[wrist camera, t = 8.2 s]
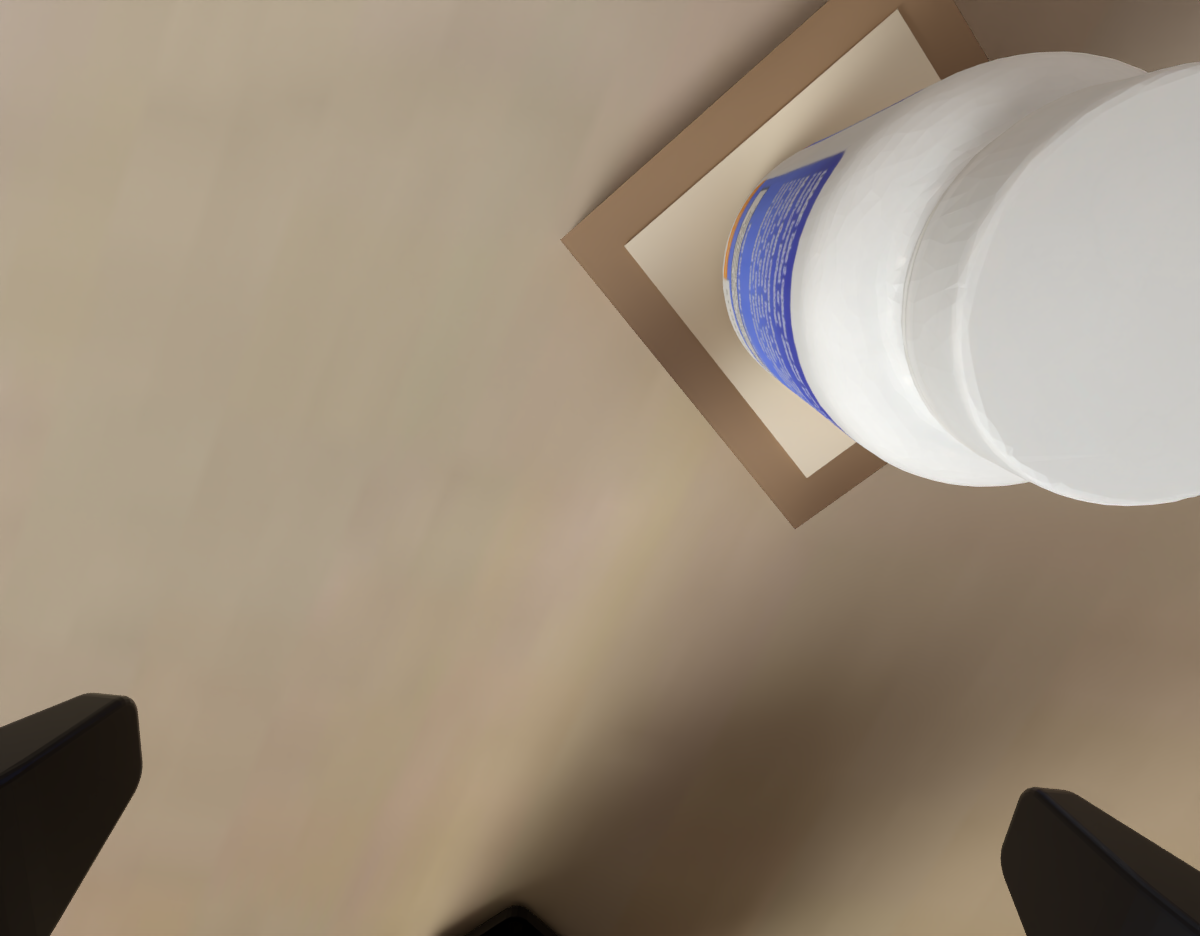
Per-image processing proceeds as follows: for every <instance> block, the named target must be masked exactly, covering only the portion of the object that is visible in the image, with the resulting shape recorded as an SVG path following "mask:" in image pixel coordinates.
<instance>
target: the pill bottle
mask: <svg viewBox="0 0 1200 936" xmlns="http://www.w3.org/2000/svg"><path fill="white" fill-rule="evenodd" d="M723 291H724V297H725V302H726V307H727V311H728V315H729V318H730V320H731V323H732V326H733V328H734V330H735V332H736V334H737V336H738V338H739V340H740V341H741V343H742V344H743V346H744V347H745V348H746V350H747V351H748V352H749V354H750V355H751V356H752V357H753V358H754V359H755V361H756V362H757V363H758V364H759V365H760V366H762V367H763V368H764V369H765V370H766V371H767V372H768V373H770V374H771V375H772V376H773V377H775V378H776V379H777V380H778V381H780V382H781V383H782V384H783V385H785V386H786V387H787V388H789V389H790V390H791V391H793V392H794V393H795V394H796V395H798V396H799V397H800V398H801V399H803V400H804V401H805V402H806V403H808V404H809V405H810V406H812V407H813V408H814V409H816V410H817V411H818V412H819V413H821V414H822V415H823V416H824V417H826V418H827V419H828V420H829V421H831V422H832V423H833V424H834V425H835V426H837V427H838V428H839V429H840V430H842V431H843V432H844V433H845V434H847V435H848V436H849V437H850V438H852V439H853V440H854V441H856V442H857V443H858V444H860V445H861V446H863V447H864V448H866V449H867V450H869V451H870V452H872V453H873V454H875V455H876V456H878V457H879V458H881V459H882V460H884V461H885V462H887V463H889V464H891V465H893V466H895V467H897V468H899V469H901V470H903V471H906V472H909V473H911V474H914V475H917V476H920V477H924V478H927V479H930V480H933V481H938V482H943V483H948V484H955V485H962V486H974V487H985V486H1008V485H1014V484H1021V483H1027V482H1031V483H1033V484H1035V485H1038V486H1040V487H1042V488H1044V489H1047V490H1049V491H1051V492H1054V493H1056V494H1059V495H1062V496H1065V497H1069V498H1072V499H1076V500H1081V501H1086V502H1091V503H1097V504H1103V505H1120V506H1136V505H1154V504H1162V503H1170V502H1176V501H1179V500H1182V499H1186V498H1190V497H1196V496H1199V495H1200V62H1193V63H1185V64H1181V65H1177V66H1173V67H1168V68H1164V69H1160V70H1156V71H1153V72H1149V73H1148V72H1146V71H1144V70H1142V69H1140V68H1137V67H1135V66H1132V65H1129V64H1127V63H1124V62H1122V61H1119V60H1116V59H1112V58H1108V57H1104V56H1098V55H1093V54H1088V53H1079V52H1066V51H1064V52H1036V53H1028V54H1021V55H1015V56H1010V57H1005V58H1000V59H996V60H993V61H989V62H986V63H983V64H979V65H976V66H974V67H971V68H968V69H965V70H963V71H960V72H957V73H955V74H953V75H951V76H949V77H947V78H945V79H943V80H941V81H939V82H936V83H934V84H932V85H930V86H928V87H926V88H924V89H922V90H920V91H918V92H916V93H914V94H912V95H911V96H909V97H907V98H905V99H903V100H901V101H899V102H897V103H895V104H893V105H891V106H889V107H887V108H885V109H883V110H881V111H879V112H877V113H875V114H873V115H872V116H870V117H868V118H866V119H864V120H862V121H860V122H858V123H856V124H854V125H852V126H850V127H848V128H846V129H844V130H841V131H839V132H837V133H835V134H833V135H831V136H829V137H827V138H824V139H822V140H820V141H818V142H815V143H813V144H811V145H809V146H807V147H805V148H804V149H802V150H800V151H799V152H797V153H795V154H794V155H792V156H791V157H789V158H787V159H786V160H784V161H783V162H781V163H780V164H779V165H778V166H777V167H775V168H774V169H773V170H772V171H770V172H769V173H768V174H767V175H766V176H765V177H764V178H763V179H762V180H761V181H760V182H759V183H758V185H757V186H756V187H755V188H754V189H753V191H752V192H751V193H750V195H749V196H748V198H747V199H746V200H745V202H744V203H743V205H742V207H741V209H740V210H739V212H738V214H737V216H736V218H735V221H734V223H733V225H732V228H731V231H730V234H729V237H728V240H727V244H726V248H725V255H724V262H723Z"/></svg>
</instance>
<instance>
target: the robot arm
mask: <svg viewBox="0 0 1200 936" xmlns="http://www.w3.org/2000/svg"><path fill="white" fill-rule="evenodd" d="M141 774H142V752H141V741H140V731H139V720H138V711H137V706H136V704H135V702H134V701H133V700H132V699H131V698H129V697H127V696H121V695H111V694H101V693H87V694H83V695H80V696H77V697H75V698H72V699H70V700H67V701H65V702H62V703H60V704H57V705H55V706H52V707H50V708H47V709H45V710H42V711H40V712H38V713H35V714H33V715H30V716H28V717H25V718H23V719H20V720H18V721H15V722H13V723H10V724H8V725H5V726H3V727H0V936H50V935H51V933H52V931H53V930H54V928H55V927H56V925H57V923H58V922H59V920H60V918H61V917H62V915H63V913H64V911H65V910H66V908H67V906H68V905H69V903H70V901H71V900H72V898H73V896H74V895H75V893H76V891H77V889H78V888H79V886H80V884H81V883H82V881H83V879H84V878H85V876H86V874H87V873H88V871H89V869H90V867H91V866H92V864H93V862H94V861H95V859H96V857H97V856H98V854H99V852H100V851H101V849H102V847H103V845H104V844H105V842H106V840H107V839H108V837H109V835H110V834H111V832H112V830H113V829H114V827H115V825H116V823H117V822H118V820H119V818H120V817H121V815H122V813H123V812H124V810H125V808H126V807H127V805H128V803H129V801H130V800H131V798H132V796H133V795H134V793H135V791H136V789H137V786H138V784H139V781H140V778H141ZM1001 867H1002V871H1003V875H1004V878H1005V881H1006V884H1007V886H1008V889H1009V891H1010V894H1011V897H1012V899H1013V902H1014V904H1015V907H1016V909H1017V912H1018V915H1019V917H1020V920H1021V922H1022V925H1023V928H1024V930H1025V933H1026V935H1027V936H1200V871H1198V870H1197V869H1195V868H1193V867H1192V866H1190V865H1189V864H1187V863H1185V862H1184V861H1182V860H1181V859H1179V858H1177V857H1176V856H1174V855H1173V854H1171V853H1169V852H1168V851H1166V850H1165V849H1163V848H1161V847H1160V846H1158V845H1157V844H1155V843H1153V842H1152V841H1150V840H1149V839H1147V838H1145V837H1144V836H1142V835H1141V834H1139V833H1137V832H1136V831H1134V830H1133V829H1131V828H1129V827H1128V826H1126V825H1125V824H1123V823H1121V822H1120V821H1118V820H1117V819H1115V818H1113V817H1112V816H1110V815H1109V814H1107V813H1105V812H1104V811H1102V810H1101V809H1099V808H1097V807H1096V806H1094V805H1092V804H1091V803H1089V802H1088V801H1086V800H1084V799H1083V798H1081V797H1080V796H1078V795H1076V794H1074V793H1072V792H1070V791H1066V790H1059V789H1049V788H1039V787H1032V788H1028V789H1026V790H1025V791H1024V792H1023V793H1022V794H1021V796H1020V798H1019V800H1018V803H1017V806H1016V809H1015V811H1014V814H1013V817H1012V820H1011V823H1010V826H1009V828H1008V831H1007V834H1006V837H1005V840H1004V843H1003V845H1002V849H1001ZM465 936H558V935H557V934H556V933H554V932H553V931H552V930H551V929H550V928H549V927H548V926H546V925H545V924H544V923H543V922H542V921H541V920H540V919H538V918H537V917H536V916H535V915H534V914H533V913H532V912H530V911H529V910H528V909H526V908H525V907H522V906H511V907H509V908H507V909H505V910H504V911H502V912H501V913H499V914H498V915H496V916H495V917H493V918H491V919H490V920H488V921H487V922H485V923H484V924H482V925H481V926H479V927H477V928H476V929H474V930H473V931H471V932H470V933H468V934H467V935H465Z"/></svg>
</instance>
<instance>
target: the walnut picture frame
mask: <svg viewBox="0 0 1200 936" xmlns="http://www.w3.org/2000/svg"><path fill="white" fill-rule="evenodd" d="M986 62H989V60H988V58H987V57H986V55H985V53H984V51H983V50H982V48H981V46H980V45H979V43H978V41H977V40H976V38H975V36H974V35H973V33H972V31H971V29H970V28H969V26H968V24H967V23H966V21H965V19H964V18H963V16H962V14H961V12H960V11H959V9H958V7H957V6H956V4H955V2H954V1H953V0H829V1H828V2H827V3H825V4H824V5H823V6H822V7H821V8H820V9H819V10H818V11H817V12H815V13H814V14H813V15H812V16H811V17H810V18H809V19H808V20H806V21H805V22H804V23H803V24H802V25H801V26H800V27H799V28H797V29H796V30H795V31H794V32H793V33H792V34H791V35H790V36H788V37H787V38H786V39H785V40H784V41H783V42H782V43H781V44H780V45H778V46H777V47H776V48H775V49H774V50H773V51H772V52H771V53H769V54H768V55H767V56H766V57H765V58H764V59H763V60H762V61H760V62H759V63H758V64H757V65H756V66H755V67H754V68H753V69H751V70H750V71H749V72H748V73H747V74H746V75H745V76H744V77H743V78H741V79H740V80H739V81H738V82H737V83H736V84H735V85H734V86H732V87H731V88H730V89H729V90H728V91H727V92H726V93H725V94H723V95H722V96H721V97H720V98H719V99H718V100H717V101H716V102H714V103H713V104H712V105H711V106H710V107H709V108H708V109H707V110H706V111H704V112H703V113H702V114H701V115H700V116H699V117H698V118H697V119H695V120H694V121H693V122H692V123H691V124H690V125H689V126H688V127H686V128H685V129H684V130H683V131H682V132H681V133H680V134H679V135H677V136H676V137H675V138H674V139H673V140H672V141H671V142H670V143H669V144H667V145H666V146H665V147H664V148H663V149H662V150H661V151H660V152H658V153H657V154H656V155H655V156H654V157H653V158H652V159H651V160H649V161H648V162H647V163H646V164H645V165H644V166H643V167H642V168H640V169H639V170H638V171H637V172H636V173H635V174H634V175H633V176H632V177H630V178H629V179H628V180H627V181H626V182H625V183H624V184H623V185H621V186H620V187H619V188H618V189H617V190H616V191H615V192H614V193H612V194H611V195H610V196H609V197H608V198H607V199H606V200H605V201H603V202H602V203H601V204H600V205H599V206H598V207H597V208H596V209H595V210H593V211H592V212H591V213H590V214H589V215H588V216H587V217H586V218H584V219H583V220H582V221H581V222H580V223H579V224H578V225H577V226H575V227H574V228H573V229H572V230H571V231H570V232H569V233H568V234H567V235H565V236H564V237H563V238H562V239H561V241H562V243H563V244H564V245H565V246H566V247H567V249H568V250H569V251H570V252H571V254H572V255H573V256H574V257H575V259H576V260H577V261H578V262H579V263H580V265H581V266H582V267H583V268H584V270H585V271H586V272H587V273H588V275H589V276H590V277H591V278H592V280H593V281H594V282H595V283H596V284H597V286H598V287H599V288H600V289H601V291H602V292H603V293H604V294H605V296H606V297H607V298H608V299H609V300H610V302H611V303H612V304H613V305H614V307H615V308H616V309H617V310H618V312H619V313H620V314H621V315H622V316H623V318H624V319H625V320H626V321H627V323H628V324H629V325H630V326H631V328H632V329H633V330H634V331H635V333H636V334H637V335H638V336H639V337H640V339H641V340H642V341H643V342H644V344H645V345H646V346H647V347H648V349H649V350H650V351H651V352H652V353H653V355H654V356H655V357H656V358H657V360H658V361H659V362H660V363H661V365H662V366H663V367H664V368H665V369H666V371H667V372H668V373H669V374H670V376H671V377H672V378H673V379H674V381H675V382H676V383H677V384H678V385H679V387H680V388H681V389H682V390H683V392H684V393H685V394H686V395H687V397H688V398H689V399H690V400H691V402H692V403H693V404H694V405H695V406H696V408H697V409H698V410H699V411H700V413H701V414H702V415H703V416H704V418H705V419H706V420H707V421H708V422H709V424H710V425H711V426H712V427H713V429H714V430H715V431H716V432H717V434H718V435H719V436H720V437H721V438H722V440H723V441H724V442H725V443H726V445H727V446H728V447H729V448H730V450H731V451H732V452H733V453H734V455H735V456H736V457H737V458H738V459H739V461H740V462H741V463H742V464H743V466H744V467H745V468H746V469H747V471H748V472H749V473H750V474H751V475H752V477H753V478H754V479H755V480H756V482H757V483H758V484H759V485H760V487H761V488H762V489H763V490H764V491H765V493H766V494H767V495H768V496H769V498H770V499H771V500H772V501H773V503H774V504H775V505H776V506H777V508H778V509H779V510H780V511H781V512H782V514H783V515H784V516H785V517H786V519H787V520H788V521H789V522H790V524H791V525H792V526H793V527H794V528H795V529H796V528H797V527H799V526H800V525H802V524H803V523H804V522H806V521H807V520H809V519H810V518H811V517H813V516H814V515H816V514H817V513H818V512H820V511H821V510H823V509H824V508H825V507H827V506H828V505H830V504H831V503H832V502H834V501H835V500H837V499H838V498H839V497H841V496H842V495H844V494H845V493H847V492H848V491H849V490H851V489H852V488H854V487H855V486H856V485H858V484H859V483H861V482H862V481H863V480H865V479H866V478H868V477H869V476H870V475H872V474H873V473H875V472H876V471H877V470H879V469H880V468H882V467H883V466H884V465H886V464H887V462H885V461H884V460H882V459H881V458H879V457H878V456H876V455H875V454H873V453H872V452H870V451H869V450H867V449H866V448H864V447H863V446H861V445H860V444H858V443H857V442H856V441H854V440H853V439H852V438H850V437H849V436H848V435H847V434H845V433H844V432H843V431H842V430H840V429H839V428H838V427H837V426H835V425H834V424H833V423H832V422H831V421H829V420H828V419H827V418H826V417H824V416H823V415H822V414H821V413H819V412H818V411H817V410H816V409H814V408H813V407H812V406H810V405H809V404H808V403H806V402H805V401H804V400H803V399H801V398H800V397H799V396H798V395H796V394H795V393H794V392H793V391H791V390H790V389H789V388H787V387H786V386H785V385H783V384H782V383H781V382H780V381H778V380H777V379H776V378H775V377H773V376H772V375H771V374H770V373H768V372H767V371H766V370H765V369H764V368H763V367H762V366H760V365H759V364H758V363H757V362H756V361H755V359H754V358H753V357H752V356H751V355H750V354H749V352H748V351H747V350H746V348H745V347H744V346H743V344H742V343H741V341H740V340H739V338H738V336H737V334H736V332H735V330H734V328H733V326H732V323H731V320H730V318H729V315H728V311H727V307H726V302H725V297H724V291H723V262H724V255H725V248H726V244H727V240H728V237H729V234H730V231H731V228H732V225H733V223H734V221H735V218H736V216H737V214H738V212H739V210H740V209H741V207H742V205H743V203H744V202H745V200H746V199H747V198H748V196H749V195H750V193H751V192H752V191H753V189H754V188H755V187H756V186H757V185H758V183H759V182H760V181H761V180H762V179H763V178H764V177H765V176H766V175H767V174H768V173H769V172H770V171H772V170H773V169H774V168H775V167H777V166H778V165H779V164H780V163H781V162H783V161H784V160H786V159H787V158H789V157H791V156H792V155H794V154H795V153H797V152H799V151H800V150H802V149H804V148H805V147H807V146H809V145H811V144H813V143H815V142H818V141H820V140H822V139H824V138H827V137H829V136H831V135H833V134H835V133H837V132H839V131H841V130H844V129H846V128H848V127H850V126H852V125H854V124H856V123H858V122H860V121H862V120H864V119H866V118H868V117H870V116H872V115H873V114H875V113H877V112H879V111H881V110H883V109H885V108H887V107H889V106H891V105H893V104H895V103H897V102H899V101H901V100H903V99H905V98H907V97H909V96H911V95H912V94H914V93H916V92H918V91H920V90H922V89H924V88H926V87H928V86H930V85H932V84H934V83H936V82H939V81H941V80H943V79H945V78H947V77H949V76H951V75H953V74H955V73H957V72H960V71H963V70H965V69H968V68H971V67H974V66H976V65H979V64H983V63H986Z"/></svg>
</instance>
